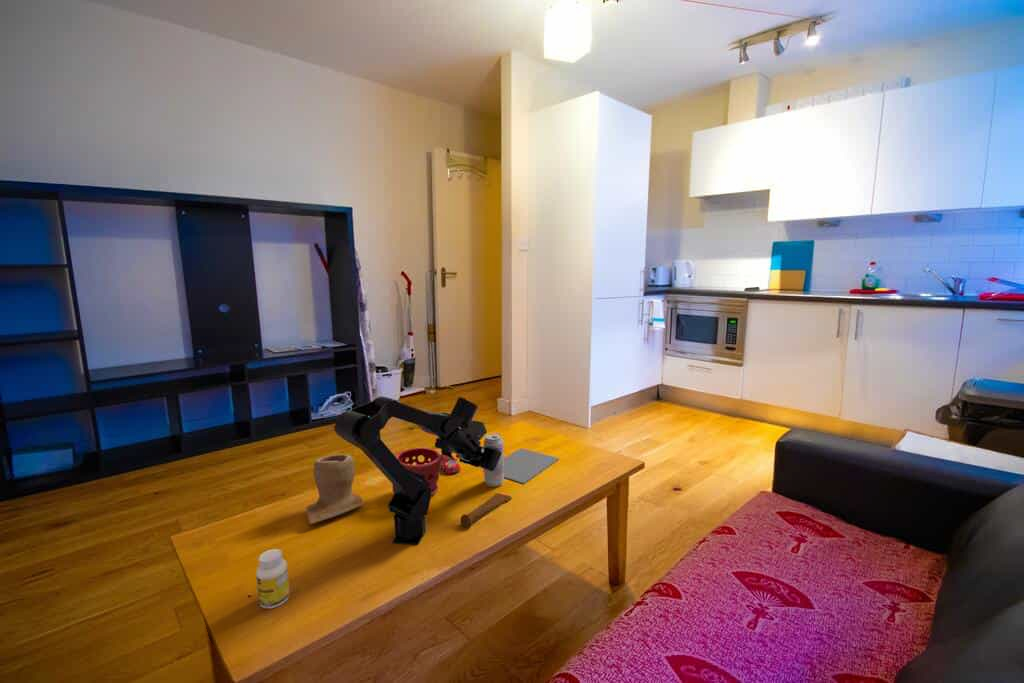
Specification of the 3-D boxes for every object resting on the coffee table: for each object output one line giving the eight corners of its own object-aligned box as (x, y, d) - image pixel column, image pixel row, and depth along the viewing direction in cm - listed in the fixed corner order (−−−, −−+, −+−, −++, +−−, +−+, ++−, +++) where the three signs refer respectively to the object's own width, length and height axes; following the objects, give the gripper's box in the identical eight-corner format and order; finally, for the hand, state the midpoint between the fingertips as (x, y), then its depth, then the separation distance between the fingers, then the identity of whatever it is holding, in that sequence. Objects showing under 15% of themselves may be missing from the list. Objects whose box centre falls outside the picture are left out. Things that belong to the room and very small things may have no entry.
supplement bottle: (252, 605, 87) (247, 560, 85) (276, 587, 92) (271, 544, 90) (273, 613, 85) (268, 566, 83) (296, 593, 90) (292, 549, 88)
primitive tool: (497, 494, 130) (497, 483, 129) (513, 499, 127) (513, 487, 127) (458, 527, 113) (458, 514, 113) (476, 533, 111) (475, 520, 110)
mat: (523, 484, 135) (523, 482, 135) (483, 471, 144) (483, 469, 144) (559, 459, 153) (559, 458, 153) (521, 449, 162) (521, 448, 162)
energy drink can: (495, 476, 140) (494, 431, 138) (508, 483, 136) (507, 436, 134) (480, 482, 136) (479, 436, 134) (493, 489, 132) (492, 441, 130)
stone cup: (351, 493, 130) (348, 445, 128) (368, 509, 122) (365, 457, 119) (296, 512, 120) (292, 460, 118) (311, 530, 112) (306, 475, 109)
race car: (462, 474, 143) (461, 462, 142) (445, 477, 141) (445, 465, 140) (451, 458, 155) (450, 447, 154) (436, 461, 153) (435, 450, 152)
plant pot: (401, 509, 121) (399, 468, 119) (393, 488, 133) (391, 451, 131) (447, 499, 126) (445, 459, 125) (435, 480, 138) (434, 443, 137)
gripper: (496, 421, 119) (520, 446, 129) (446, 409, 129) (472, 434, 140) (478, 459, 114) (505, 482, 124) (427, 443, 124) (455, 466, 135)
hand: (483, 464), depth 131 cm, fingers closed
